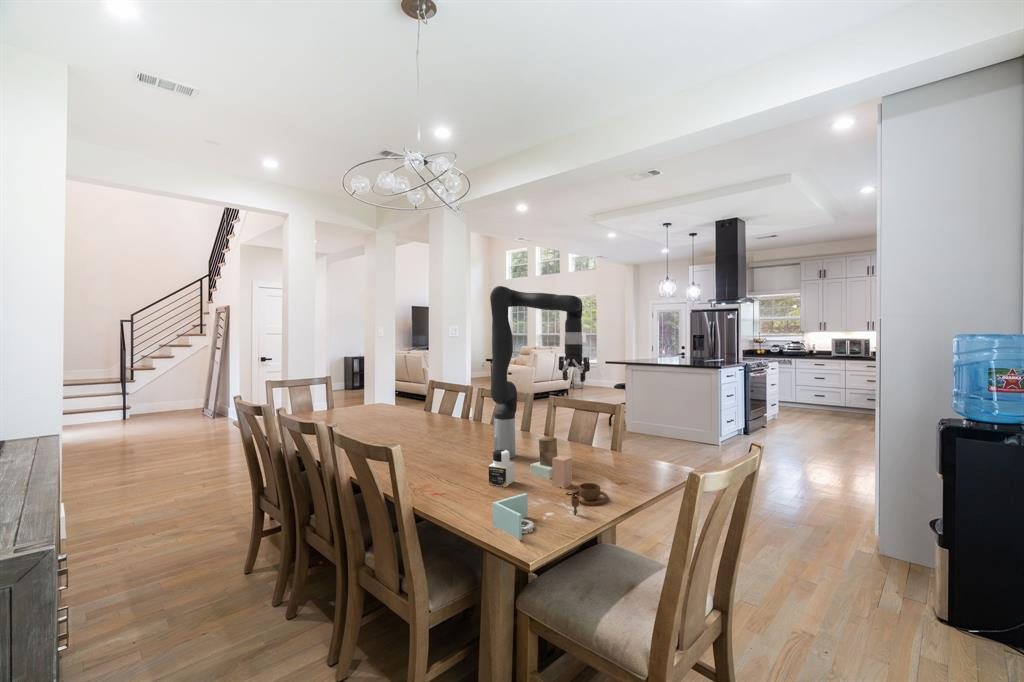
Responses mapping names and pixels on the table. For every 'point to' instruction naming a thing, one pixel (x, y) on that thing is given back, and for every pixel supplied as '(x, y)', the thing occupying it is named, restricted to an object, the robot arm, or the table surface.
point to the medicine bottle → (501, 469)
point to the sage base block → (541, 470)
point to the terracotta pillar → (562, 471)
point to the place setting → (587, 495)
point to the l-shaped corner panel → (512, 515)
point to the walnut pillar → (547, 450)
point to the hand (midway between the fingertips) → (573, 381)
